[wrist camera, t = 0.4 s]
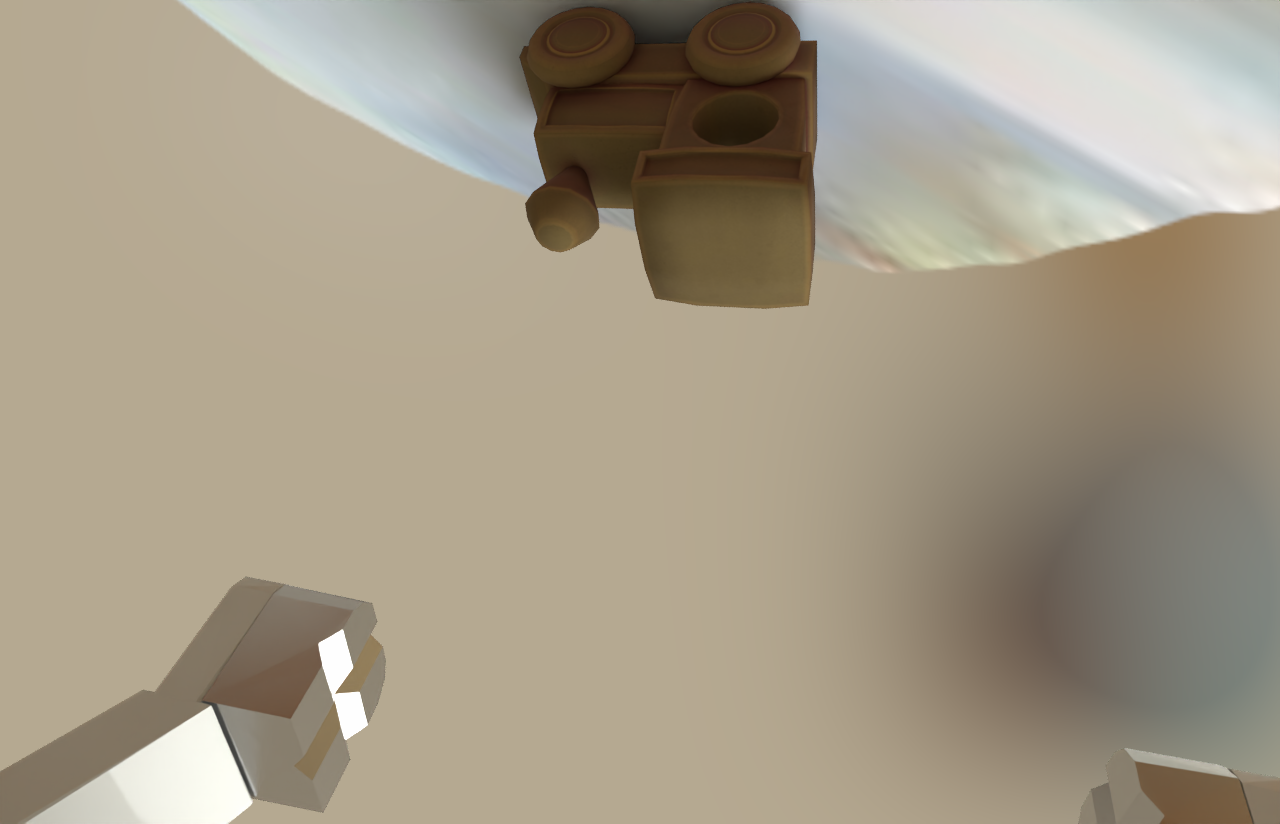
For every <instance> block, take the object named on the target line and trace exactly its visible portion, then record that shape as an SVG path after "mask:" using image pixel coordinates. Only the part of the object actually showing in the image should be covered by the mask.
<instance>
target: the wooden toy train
mask: <svg viewBox="0 0 1280 824" xmlns="http://www.w3.org/2000/svg"><path fill="white" fill-rule="evenodd" d="M520 60H521V64H522V67H523V71H524V74H525V77H526V81H527V84H528V87H529V91H530V94H531V98H532V101H533V104H534V108H535V111H536V114H537V118H538V119H537V123H536V127H535V131H534V137H535V142H536V146H537V151H538V155H539V160H540V163H541V166H542V169H543V173H544V176H545V179H546V183H545V184H544V185H542V186H541V187H539V188H538V189H537V190H535V191H534V192H533V193H532V194H531V196H530V197H529V199H528V200H527V202H526V203H525V205H526V212H527V218H528V221H529V223H530V225H531V227H532V230H533V232H534V235H535V237H536V239H537V240H538V242H539V243H540V244H541V245H542V246H543V247H545V248H547V249H549V250H551V251H556V252H564V251H567V250H570V249H572V248H574V247H576V246H578V245H580V244H581V243H583V242H585V241H587V240H589V239H591V237H592V236H593V235H594V234H595V233H596V231H597V230H598V229H599V215H598V210H597V208H626V209H634V219H635V226H636V231H637V235H638V240H639V244H640V249H641V253H642V258H643V262H644V267H645V271H646V274H647V276H648V279H649V282H650V285H651V287H652V290H653V293H654V296H655V298H656V299H662V300H669V301H674V302H680V303H686V304H692V305H699V306H720V307H741V308H762V309H764V308H765V309H766V308H780V307H793V306H806V305H808V304H809V295H810V288H811V281H812V272H813V261H814V250H815V190H814V178H813V165H814V157H815V150H816V143H817V41H800V32H799V30H798V28H797V26H796V25H795V23H794V22H793V20H792V19H791V17H790V16H789V15H787V14H786V13H784V12H783V11H781V10H780V9H778V8H776V7H773V6H770V5H767V4H763V3H750V2H746V3H738V4H732V5H728V6H725V7H722V8H719V9H717V10H715V11H713V12H711V13H709V14H708V15H706V16H705V17H704V18H703V19H702V20H701V21H699V22H698V23H697V24H696V25H695V26H694V27H693V29H692V31H691V33H690V35H689V37H688V40H687V42H686V43H669V44H635V34H634V32H633V30H632V28H631V26H630V25H629V24H628V22H627V21H626V20H625V19H624V18H623V17H621V16H620V15H619V14H617V13H615V12H613V11H610V10H606V9H603V8H595V7H584V8H576V9H572V10H569V11H565V12H562V13H560V14H558V15H556V16H554V17H552V18H550V19H548V20H547V21H546V22H545V23H543V24H542V25H541V26H540V27H539V28H538V29H537V30H536V32H535V33H534V35H533V36H532V38H531V39H530V42H529V46H524V48H523V50H522V52H521V55H520Z"/></svg>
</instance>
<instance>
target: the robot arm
mask: <svg viewBox="0 0 1280 824" xmlns="http://www.w3.org/2000/svg"><path fill="white" fill-rule="evenodd" d="M376 623H377V619H376V615H375V612H374V608H373V605H372V603H369V602H364V601H360V600H355V599H350V598H346V597H341V596H336V595H331V594H326V593H321V592H317V591H313V590H308V589H303V588H298V587H294V586H289V585H286V584H280V583H276V582H271V581H266V580H260V579H255V578H250V577H245V578H243V579H242V580H240V581H239V582H237V583H236V584H235V585H233V586H232V587H231V588H230V589H229V591H228V592H227V593H226V595H225V596H224V598H223V599H222V600H221V602H220V603H219V605H218V606H217V607H216V609H215V610H214V611H213V613H212V614H211V615H210V617H209V618H208V620H207V621H206V622H205V624H204V625H203V626H202V628H201V629H200V631H199V632H198V633H197V635H196V636H195V637H194V639H193V640H192V641H191V643H190V644H189V645H188V647H187V648H186V650H185V651H184V652H183V654H182V655H181V656H180V658H179V659H178V661H177V662H176V664H175V665H174V666H173V667H172V669H171V670H170V672H169V673H168V674H167V676H166V677H165V678H164V680H163V681H162V683H161V684H160V685H159V687H158V688H157V689H156V691H155V692H152V691H146V690H142V691H140V692H138V693H136V694H135V695H133V696H131V697H129V698H128V699H126V700H124V701H122V702H121V703H119V704H117V705H115V706H114V707H112V708H110V709H108V710H107V711H105V712H103V713H101V714H100V715H98V716H96V717H95V718H93V719H91V720H89V721H88V722H86V723H84V724H82V725H80V726H79V727H77V728H75V729H74V730H72V731H70V732H68V733H67V734H65V735H64V736H61V737H60V738H58V739H56V740H54V741H53V742H51V743H49V744H47V745H46V746H44V747H42V748H40V749H39V750H37V751H35V752H33V753H32V754H30V755H28V756H26V757H25V758H23V759H21V760H19V761H18V762H16V763H14V764H12V765H11V766H9V767H7V768H6V769H4V770H2V771H0V824H228V823H229V822H230V821H232V820H233V819H234V818H235V817H237V816H238V815H239V814H240V813H241V812H243V810H245V809H246V808H248V807H249V806H250V805H251V804H252V803H253V801H252V798H253V799H258V800H263V801H268V802H273V803H278V804H283V805H288V806H293V807H298V808H303V809H308V810H313V811H318V812H324V810H325V808H326V806H327V804H328V802H329V800H330V798H331V796H332V794H333V793H334V790H335V788H336V787H337V785H338V782H339V781H340V779H341V777H342V775H343V772H344V771H345V769H346V767H347V765H348V763H349V761H350V756H349V751H348V746H347V742H346V739H347V738H349V737H350V736H352V735H353V734H355V733H356V732H358V731H359V730H361V729H362V728H364V727H365V726H367V725H368V723H369V720H370V719H371V717H372V714H373V712H374V710H375V708H376V706H377V704H378V701H379V698H380V694H381V690H382V686H383V683H384V679H385V662H386V661H385V655H384V650H383V646H382V645H381V644H380V643H379V642H378V641H377V640H376V639H375V638H374V637H373V636H372V635H371V633H372V631H373V629H374V627H375V625H376ZM1106 770H1107V776H1108V781H1109V783H1106V784H1103V785H1101V786H1098V787H1096V788H1093V789H1091V791H1090V792H1089V794H1088V796H1087V798H1086V800H1085V802H1084V804H1083V805H1082V807H1081V812H1080V818H1079V823H1078V824H1280V778H1278V777H1274V776H1268V775H1262V774H1256V773H1251V772H1245V771H1239V770H1233V769H1228V768H1225V767H1224V766H1222V765H1216V764H1210V763H1205V762H1199V761H1193V760H1188V759H1183V758H1177V757H1171V756H1166V755H1160V754H1154V753H1149V752H1143V751H1138V750H1132V749H1127V748H1123V749H1121V750H1118V751H1116V752H1115V753H1114V754H1113V755H1112V757H1111V758H1110V760H1109V761H1108V763H1107V765H1106Z"/></svg>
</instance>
